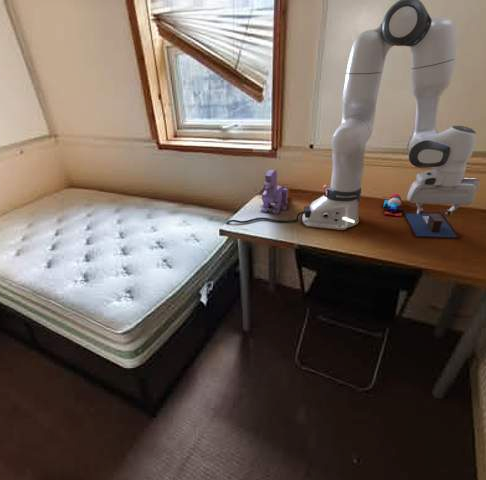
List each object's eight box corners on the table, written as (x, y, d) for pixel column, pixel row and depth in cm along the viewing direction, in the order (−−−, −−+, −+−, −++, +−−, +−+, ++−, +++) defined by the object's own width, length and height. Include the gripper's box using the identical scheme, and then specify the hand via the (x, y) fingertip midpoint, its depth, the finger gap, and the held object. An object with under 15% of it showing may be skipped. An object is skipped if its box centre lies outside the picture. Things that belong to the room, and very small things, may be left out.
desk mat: (416, 237, 120) (417, 236, 120) (404, 214, 136) (404, 213, 136) (457, 238, 117) (457, 237, 117) (440, 214, 133) (440, 213, 132)
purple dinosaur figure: (254, 214, 149) (253, 173, 138) (274, 195, 166) (275, 157, 155) (278, 218, 143) (279, 176, 133) (297, 197, 160) (299, 158, 150)
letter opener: (439, 232, 121) (442, 221, 118) (431, 232, 121) (434, 220, 119) (428, 217, 131) (432, 206, 128) (421, 217, 131) (424, 206, 129)
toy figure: (402, 220, 135) (403, 200, 144) (404, 209, 132) (405, 190, 141) (381, 219, 138) (384, 200, 148) (382, 209, 135) (385, 190, 144)
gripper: (477, 174, 113) (462, 211, 121) (412, 173, 117) (401, 209, 125) (485, 181, 108) (469, 219, 116) (416, 179, 113) (405, 216, 121)
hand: (433, 214), depth 121 cm, fingers open, 8 cm apart
